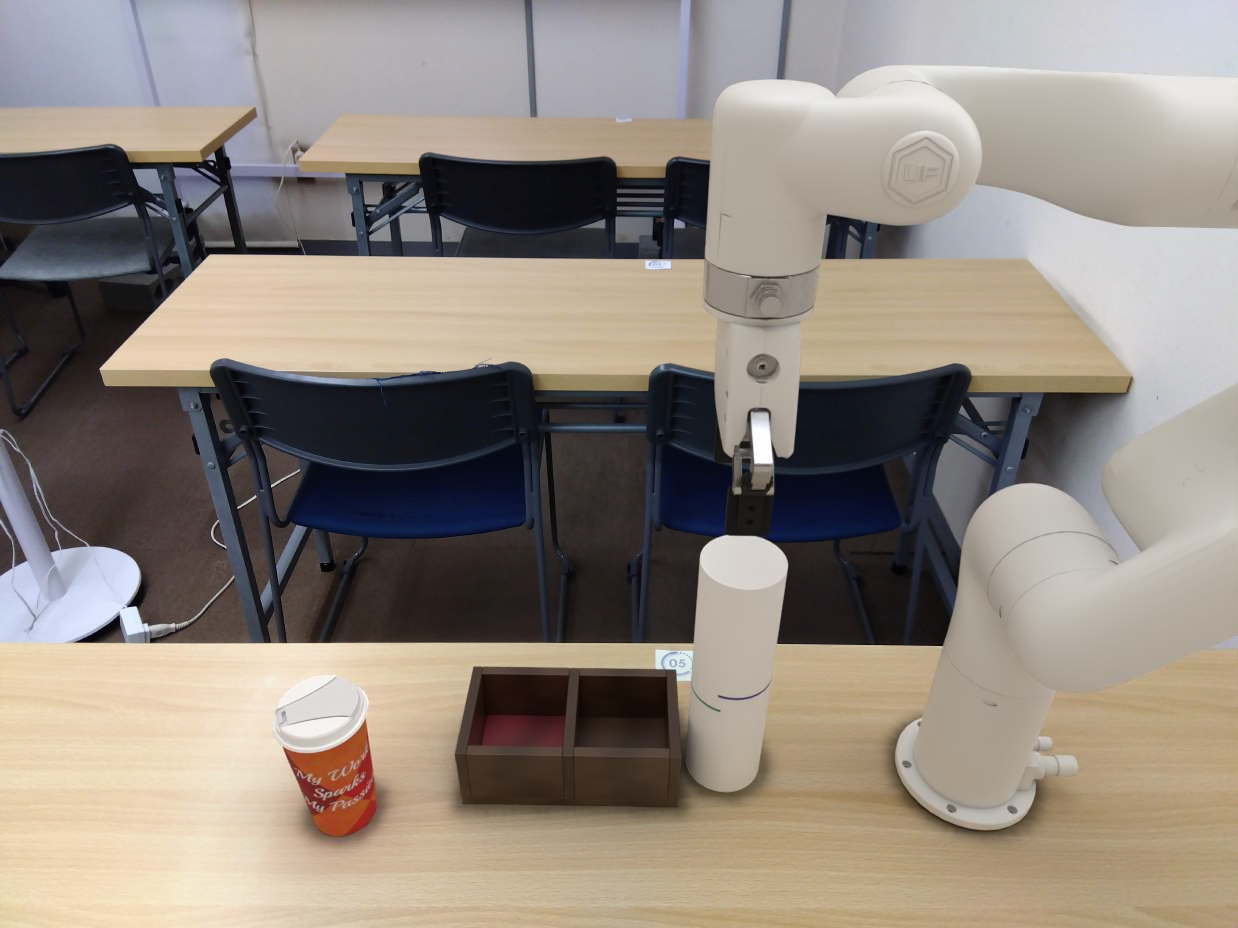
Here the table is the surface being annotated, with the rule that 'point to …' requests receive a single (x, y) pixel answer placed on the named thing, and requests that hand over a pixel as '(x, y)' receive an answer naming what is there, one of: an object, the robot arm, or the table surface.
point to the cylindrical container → (733, 658)
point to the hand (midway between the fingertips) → (739, 495)
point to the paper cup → (329, 751)
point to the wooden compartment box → (570, 737)
